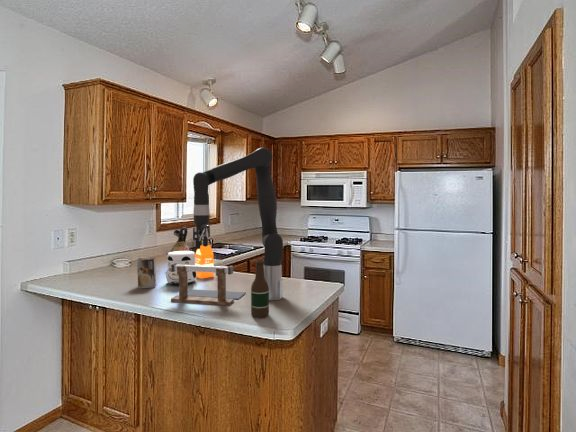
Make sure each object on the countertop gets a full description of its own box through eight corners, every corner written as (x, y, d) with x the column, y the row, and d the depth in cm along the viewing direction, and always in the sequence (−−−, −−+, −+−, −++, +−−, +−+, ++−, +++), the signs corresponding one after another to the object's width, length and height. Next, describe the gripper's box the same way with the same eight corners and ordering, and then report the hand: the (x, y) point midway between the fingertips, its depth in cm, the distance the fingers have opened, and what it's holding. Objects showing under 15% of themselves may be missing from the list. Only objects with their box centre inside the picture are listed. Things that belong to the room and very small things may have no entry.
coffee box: (156, 284, 212) (155, 257, 211) (154, 287, 206) (154, 259, 205) (139, 285, 210) (139, 257, 209) (137, 288, 204) (136, 259, 203)
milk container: (170, 288, 205) (170, 256, 204) (163, 281, 219) (162, 252, 218) (200, 284, 214) (200, 253, 213) (191, 278, 229) (191, 249, 228)
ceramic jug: (182, 274, 241) (182, 228, 239) (163, 272, 246) (162, 227, 244) (197, 269, 256) (197, 226, 255) (179, 267, 262) (179, 225, 260)
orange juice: (195, 276, 234) (195, 245, 233) (207, 274, 240) (207, 244, 239) (201, 278, 228) (201, 246, 227) (213, 276, 234) (213, 245, 233)
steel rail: (233, 273, 177) (233, 265, 177) (230, 274, 173) (230, 267, 173) (175, 270, 183) (174, 263, 183) (171, 271, 179) (171, 264, 179)
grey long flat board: (245, 293, 194) (245, 292, 194) (238, 299, 183) (238, 298, 183) (189, 290, 201) (189, 289, 201) (179, 296, 189) (179, 295, 189)
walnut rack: (233, 301, 179) (233, 266, 178) (229, 305, 173) (229, 268, 172) (177, 298, 185) (176, 263, 184) (170, 301, 179) (170, 266, 178)
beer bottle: (252, 312, 163) (252, 258, 162) (270, 313, 162) (270, 259, 161) (249, 318, 155) (249, 262, 154) (267, 318, 155) (267, 262, 153)
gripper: (202, 215, 169) (202, 250, 170) (214, 213, 183) (214, 245, 184) (187, 214, 170) (187, 249, 171) (200, 213, 184) (200, 245, 185)
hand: (201, 247), depth 177 cm, fingers open, 8 cm apart
